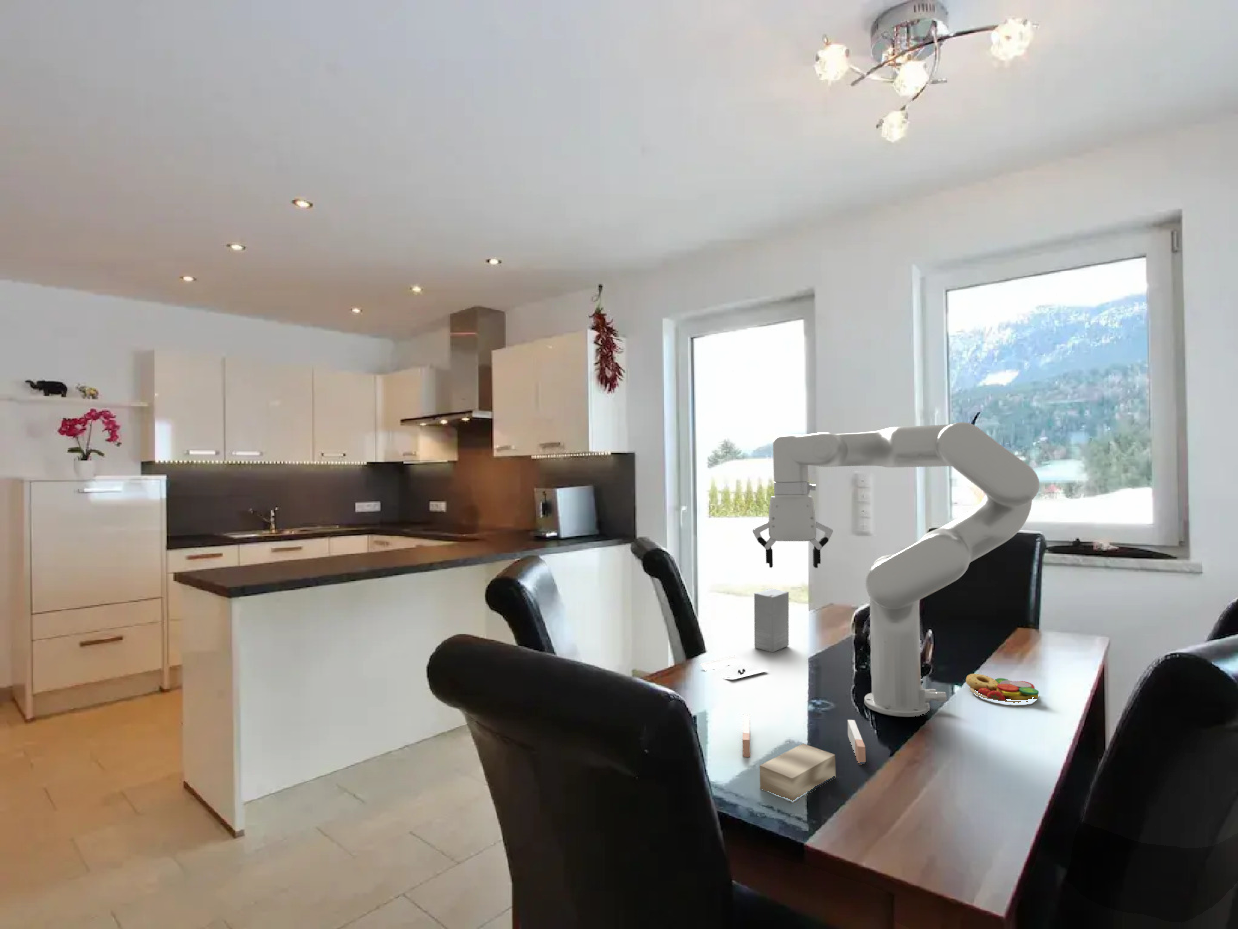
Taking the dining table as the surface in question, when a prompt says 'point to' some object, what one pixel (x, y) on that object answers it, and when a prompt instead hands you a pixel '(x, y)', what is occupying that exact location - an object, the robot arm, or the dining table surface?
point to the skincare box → (771, 619)
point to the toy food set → (1001, 688)
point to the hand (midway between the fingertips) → (793, 566)
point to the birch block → (797, 771)
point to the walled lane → (852, 734)
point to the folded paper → (727, 661)
